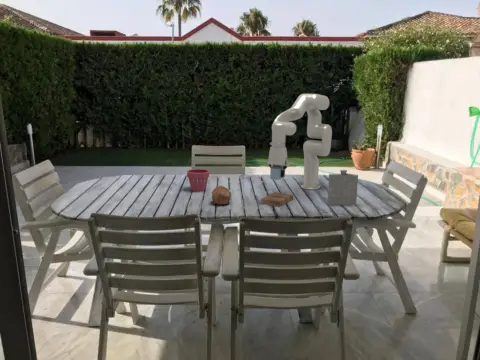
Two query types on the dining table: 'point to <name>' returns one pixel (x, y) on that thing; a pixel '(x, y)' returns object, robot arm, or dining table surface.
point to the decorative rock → (221, 195)
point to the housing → (276, 172)
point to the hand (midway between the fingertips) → (277, 176)
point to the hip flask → (342, 188)
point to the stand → (277, 199)
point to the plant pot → (198, 179)
